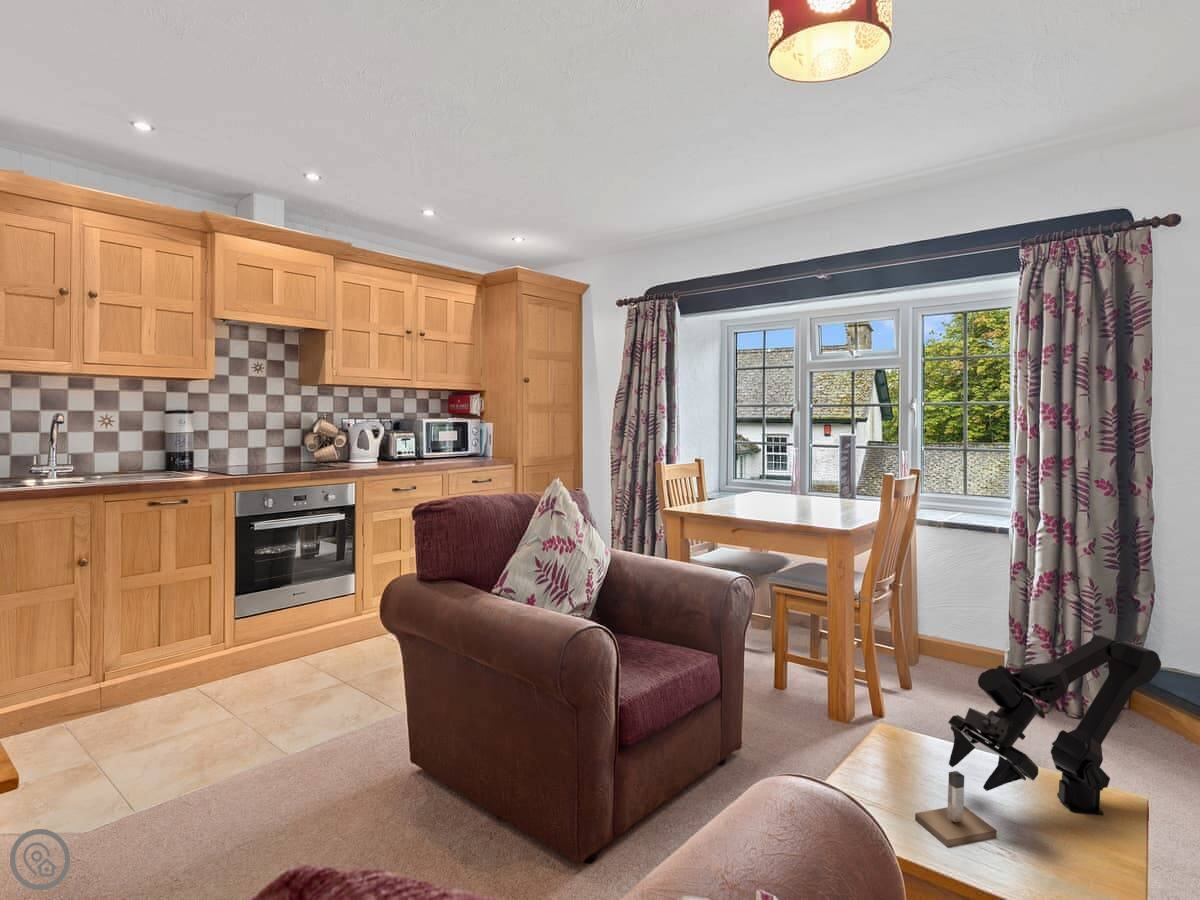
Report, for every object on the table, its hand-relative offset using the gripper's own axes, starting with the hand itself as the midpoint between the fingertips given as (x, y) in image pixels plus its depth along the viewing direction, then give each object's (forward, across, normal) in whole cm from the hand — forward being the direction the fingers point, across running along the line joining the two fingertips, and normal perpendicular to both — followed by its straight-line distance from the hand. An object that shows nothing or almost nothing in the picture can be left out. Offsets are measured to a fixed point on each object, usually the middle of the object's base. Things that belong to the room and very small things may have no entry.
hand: (967, 777), depth 139 cm
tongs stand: (+10, +1, +4) cm, 11 cm away
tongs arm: (+8, +1, +3) cm, 9 cm away
